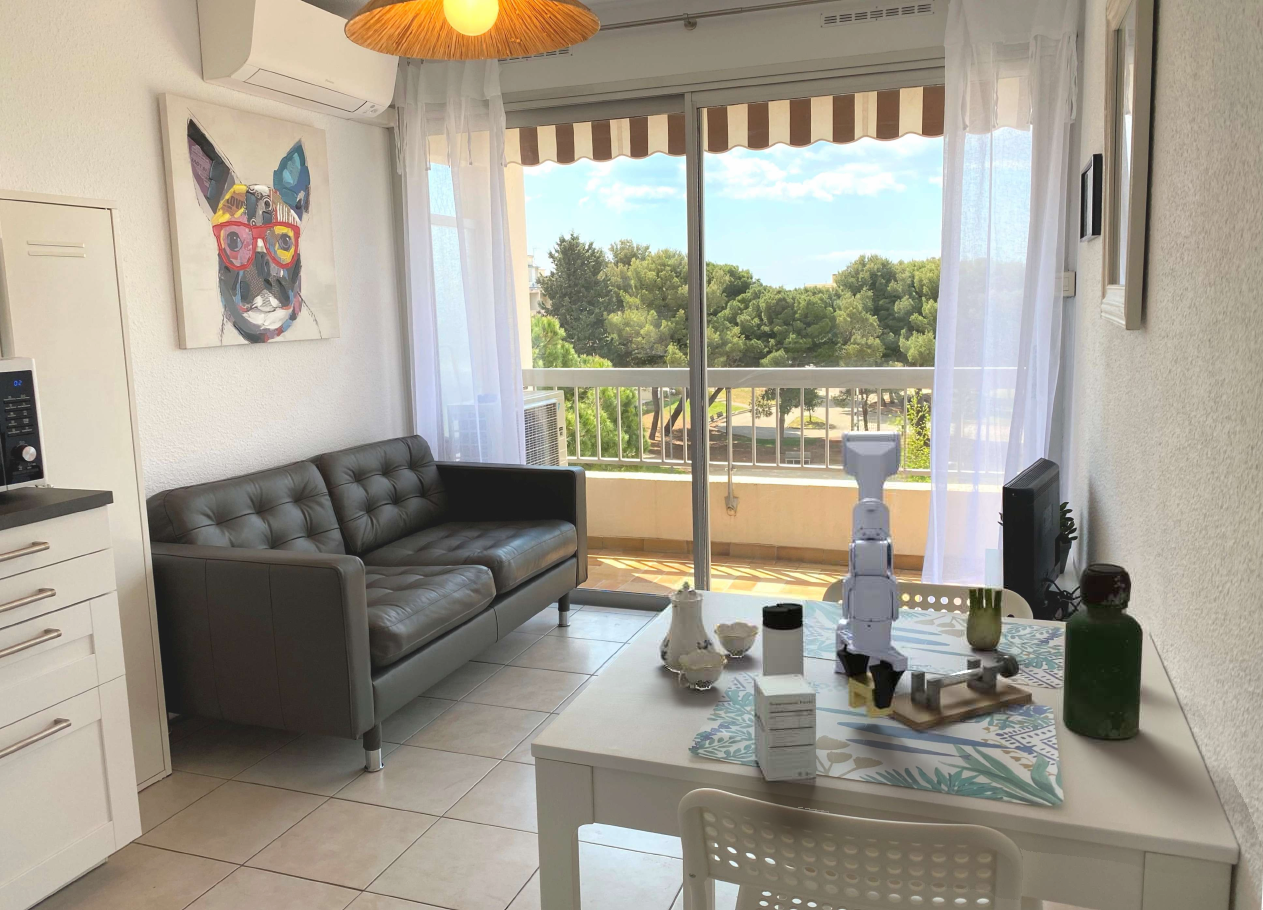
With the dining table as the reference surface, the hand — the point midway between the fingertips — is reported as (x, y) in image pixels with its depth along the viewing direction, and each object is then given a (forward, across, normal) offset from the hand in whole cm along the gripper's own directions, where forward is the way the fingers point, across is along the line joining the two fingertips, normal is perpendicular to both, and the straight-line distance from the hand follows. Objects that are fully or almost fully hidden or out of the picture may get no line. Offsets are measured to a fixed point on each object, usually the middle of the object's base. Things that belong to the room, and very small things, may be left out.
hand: (870, 700), depth 148 cm
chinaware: (+4, -35, -10) cm, 37 cm away
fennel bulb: (+4, -17, +41) cm, 44 cm away
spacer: (+2, 0, 0) cm, 2 cm away
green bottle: (+4, +18, +30) cm, 35 cm away
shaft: (+2, 0, +22) cm, 22 cm away
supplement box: (+4, +6, -20) cm, 21 cm away
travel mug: (+4, -6, -12) cm, 14 cm away
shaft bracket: (+4, 0, +17) cm, 17 cm away
